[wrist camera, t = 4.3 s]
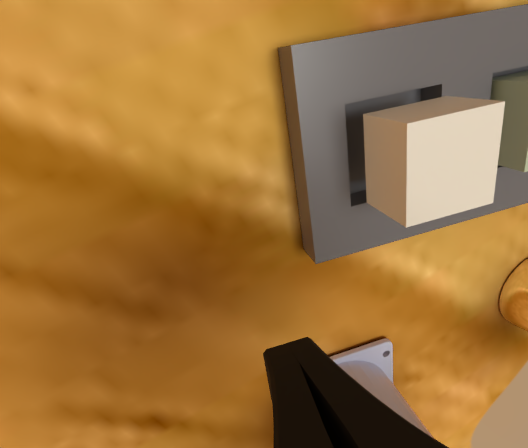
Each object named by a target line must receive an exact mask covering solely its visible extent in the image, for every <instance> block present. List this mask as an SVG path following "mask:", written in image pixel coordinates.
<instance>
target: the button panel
mask: <svg viewBox="0 0 528 448" xmlns="http://www.w3.org/2000/svg"><path fill="white" fill-rule="evenodd" d="M278 51H279V59H280V67H281V75H282V82H283V90H284V98H285V106H286V114H287V122H288V129H289V137H290V145H291V153H292V161H293V169H294V176H295V184H296V192H297V200H298V208H299V216H300V223H301V231H302V239H303V247H304V250H305V251H306V253H307V254H308V255H309V256H310V257H311V259H312V260H313V261H314V262H315V264H318V263H321V262H325V261H328V260H332V259H335V258H338V257H342V256H345V255H349V254H352V253H356V252H359V251H363V250H366V249H370V248H373V247H376V246H380V245H383V244H387V243H390V242H394V241H397V240H401V239H404V238H408V237H411V236H415V235H418V234H421V233H425V232H428V231H432V230H435V229H439V228H442V227H446V226H449V225H453V224H456V223H459V222H463V221H466V220H470V219H473V218H477V217H480V216H484V215H487V214H491V213H494V212H498V211H501V210H504V209H508V208H511V207H515V206H518V205H522V204H525V203H528V171H527V172H521V171H518V170H514V169H511V168H507V167H503V166H500V165H498V166H497V175H496V183H495V192H494V200H493V203H491V204H488V205H484V206H481V207H477V208H474V209H470V210H467V211H463V212H460V213H456V214H452V215H449V216H445V217H442V218H438V219H435V220H431V221H428V222H424V223H421V224H417V225H414V226H410V227H407V228H406V227H404V226H403V225H401V224H400V223H398V222H396V221H395V220H393V219H392V218H390V217H389V216H387V215H385V214H384V213H382V212H381V211H379V210H378V209H376V208H374V207H373V206H371V205H370V204H368V203H367V198H366V174H365V150H364V125H363V114H366V113H370V112H375V111H380V110H384V109H389V108H393V107H398V106H402V105H407V104H412V103H416V102H421V101H425V100H430V99H435V98H439V97H444V96H453V97H464V98H475V99H486V100H490V97H491V87H492V78H494V77H499V76H504V75H508V74H513V73H518V72H522V71H527V70H528V4H526V5H520V6H514V7H509V8H503V9H497V10H491V11H486V12H480V13H474V14H469V15H463V16H457V17H451V18H446V19H440V20H434V21H429V22H423V23H417V24H412V25H406V26H400V27H394V28H389V29H383V30H377V31H372V32H366V33H360V34H354V35H349V36H343V37H337V38H332V39H326V40H320V41H314V42H309V43H303V44H297V45H292V46H286V47H280V48H278Z"/></svg>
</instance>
